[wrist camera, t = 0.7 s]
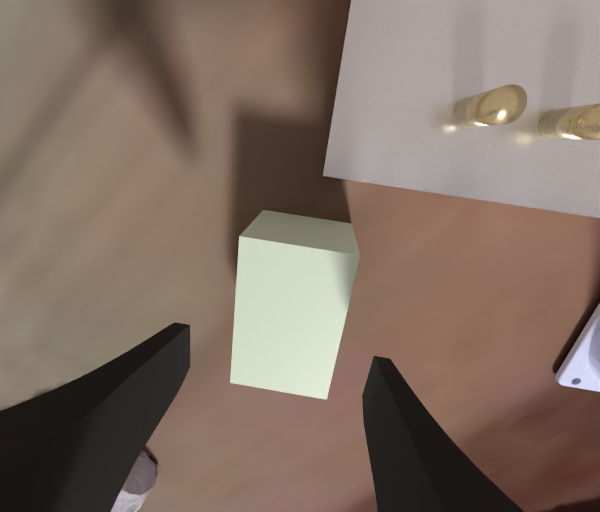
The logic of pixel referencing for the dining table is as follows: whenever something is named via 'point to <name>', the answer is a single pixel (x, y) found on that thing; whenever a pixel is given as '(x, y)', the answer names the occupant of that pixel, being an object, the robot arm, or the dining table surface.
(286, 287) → the block
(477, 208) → the dining table surface
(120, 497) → the stone block
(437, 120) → the base plate
